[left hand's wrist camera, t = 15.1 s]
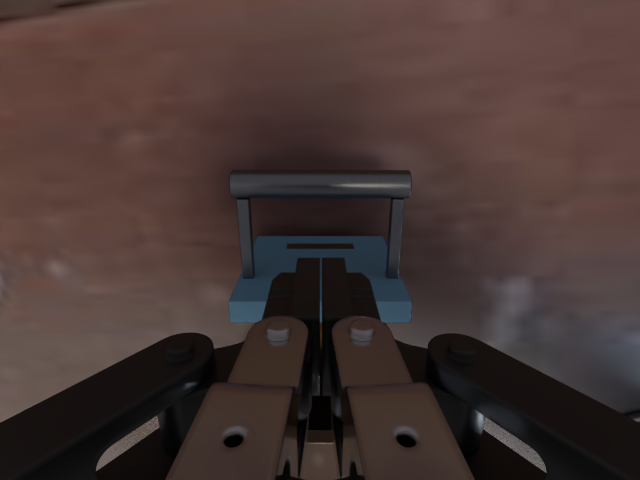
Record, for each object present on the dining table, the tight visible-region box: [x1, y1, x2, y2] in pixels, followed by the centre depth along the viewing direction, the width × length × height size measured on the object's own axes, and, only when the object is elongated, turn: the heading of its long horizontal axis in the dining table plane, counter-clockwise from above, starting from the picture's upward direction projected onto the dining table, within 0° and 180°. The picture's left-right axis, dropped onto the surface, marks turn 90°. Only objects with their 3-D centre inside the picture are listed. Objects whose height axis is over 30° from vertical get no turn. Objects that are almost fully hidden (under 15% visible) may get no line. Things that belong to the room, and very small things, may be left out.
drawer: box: [229, 170, 412, 430], centre depth 25 cm, size 24×9×9 cm, turn 0°
